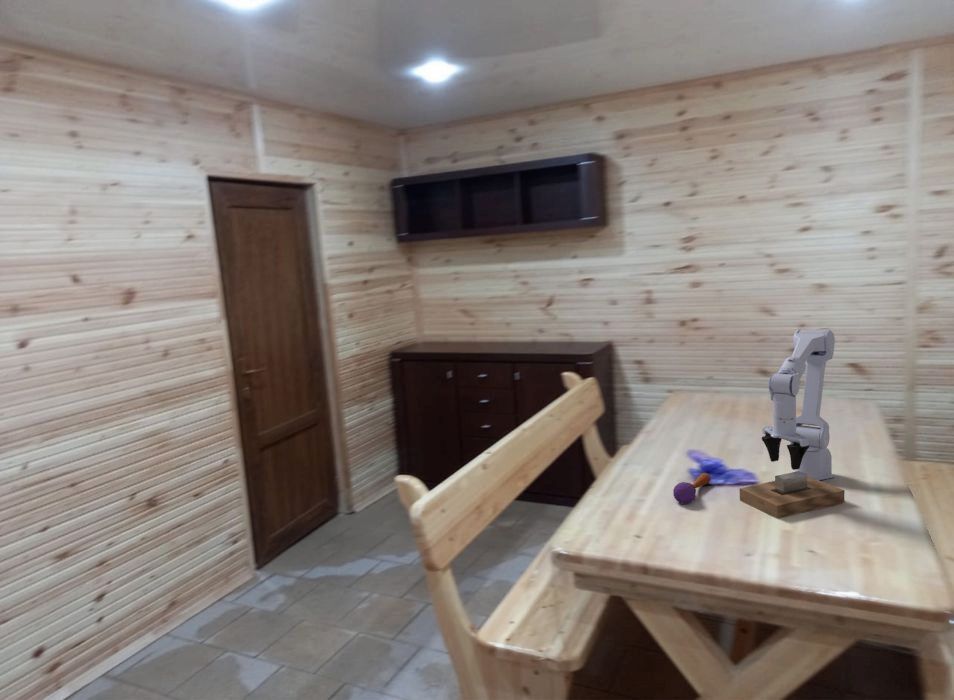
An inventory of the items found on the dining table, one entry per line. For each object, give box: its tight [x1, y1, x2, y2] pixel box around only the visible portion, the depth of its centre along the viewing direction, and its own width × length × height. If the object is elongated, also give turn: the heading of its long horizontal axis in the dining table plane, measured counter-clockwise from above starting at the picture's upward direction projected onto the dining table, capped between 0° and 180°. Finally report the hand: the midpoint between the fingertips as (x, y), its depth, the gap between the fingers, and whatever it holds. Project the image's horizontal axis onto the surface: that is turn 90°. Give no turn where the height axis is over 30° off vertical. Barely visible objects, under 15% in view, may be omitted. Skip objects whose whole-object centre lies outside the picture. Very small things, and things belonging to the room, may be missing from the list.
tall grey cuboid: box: [774, 471, 807, 495], centre depth 172 cm, size 8×3×7 cm, turn 107°
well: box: [739, 476, 846, 520], centre depth 173 cm, size 22×14×4 cm, turn 107°
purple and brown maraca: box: [672, 472, 712, 505], centre depth 183 cm, size 6×6×20 cm
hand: (785, 464), depth 175 cm, fingers open, 7 cm apart
